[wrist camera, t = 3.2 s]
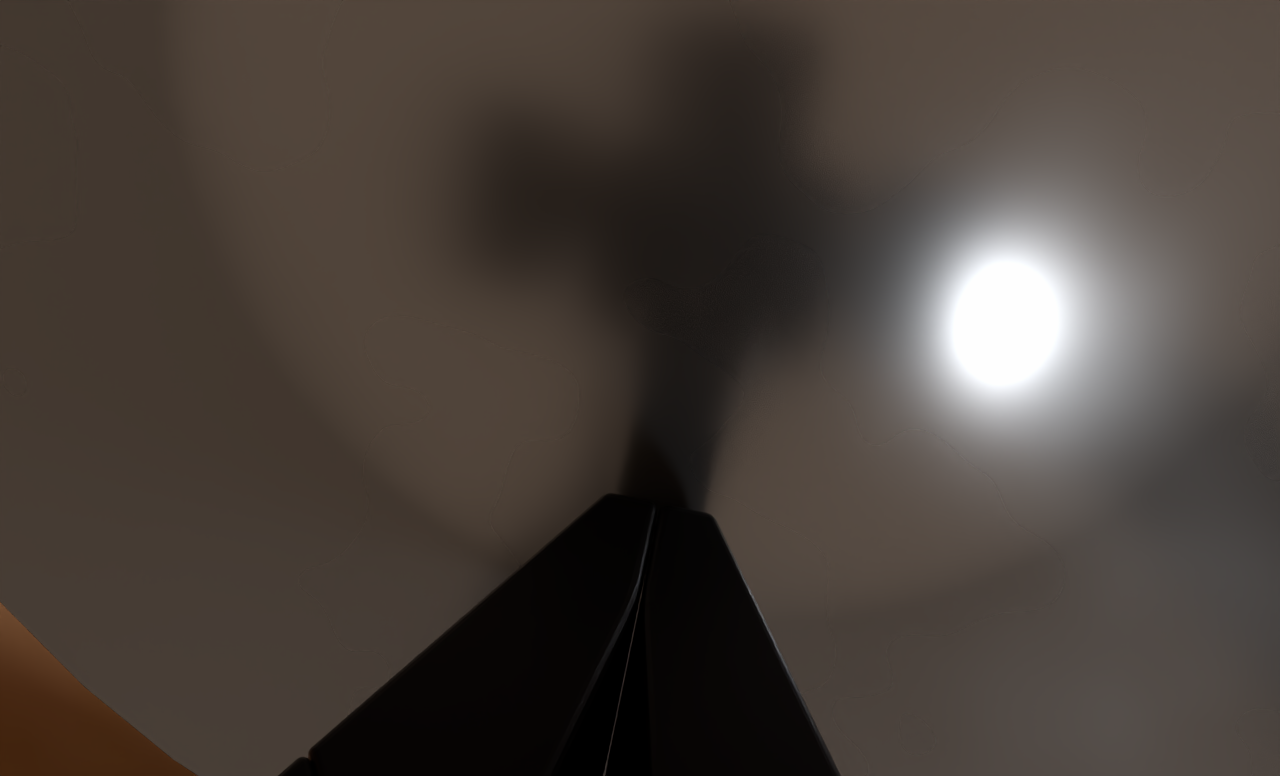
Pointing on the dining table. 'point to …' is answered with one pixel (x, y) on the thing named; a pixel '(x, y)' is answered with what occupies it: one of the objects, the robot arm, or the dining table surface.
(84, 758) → the dining table surface
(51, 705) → the dining table surface
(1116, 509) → the lid
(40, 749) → the dining table surface
